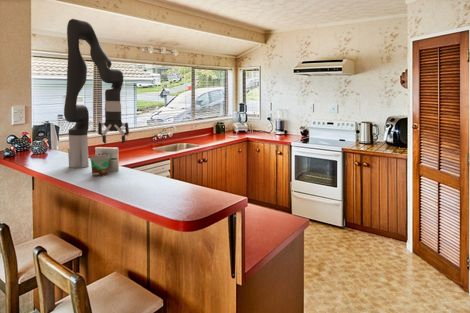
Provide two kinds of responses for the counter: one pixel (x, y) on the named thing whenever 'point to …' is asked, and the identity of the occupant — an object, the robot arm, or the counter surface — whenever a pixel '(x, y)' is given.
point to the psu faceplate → (114, 158)
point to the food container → (100, 164)
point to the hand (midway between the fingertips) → (114, 143)
